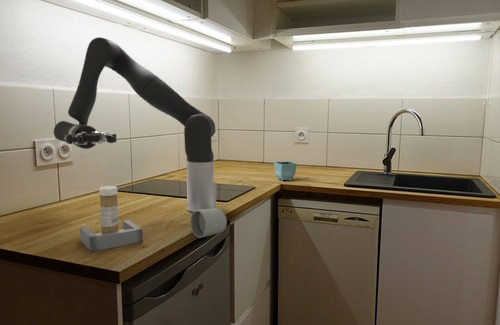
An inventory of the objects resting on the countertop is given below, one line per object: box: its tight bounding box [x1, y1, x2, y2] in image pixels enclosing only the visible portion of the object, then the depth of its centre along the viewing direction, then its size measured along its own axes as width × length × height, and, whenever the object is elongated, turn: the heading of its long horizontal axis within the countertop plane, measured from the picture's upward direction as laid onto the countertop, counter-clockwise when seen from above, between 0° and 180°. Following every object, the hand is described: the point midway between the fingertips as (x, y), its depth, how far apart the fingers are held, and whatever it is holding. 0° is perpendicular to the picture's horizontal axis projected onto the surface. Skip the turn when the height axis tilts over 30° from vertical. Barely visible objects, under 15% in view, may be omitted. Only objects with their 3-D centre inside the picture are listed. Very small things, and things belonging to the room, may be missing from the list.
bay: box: [79, 219, 144, 253], centre depth 103 cm, size 13×10×4 cm
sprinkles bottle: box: [98, 185, 119, 234], centre depth 103 cm, size 5×5×13 cm
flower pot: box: [273, 161, 297, 181], centre depth 195 cm, size 9×9×9 cm
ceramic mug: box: [190, 207, 228, 239], centre depth 110 cm, size 11×8×8 cm
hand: (97, 140), depth 114 cm, fingers open, 8 cm apart
